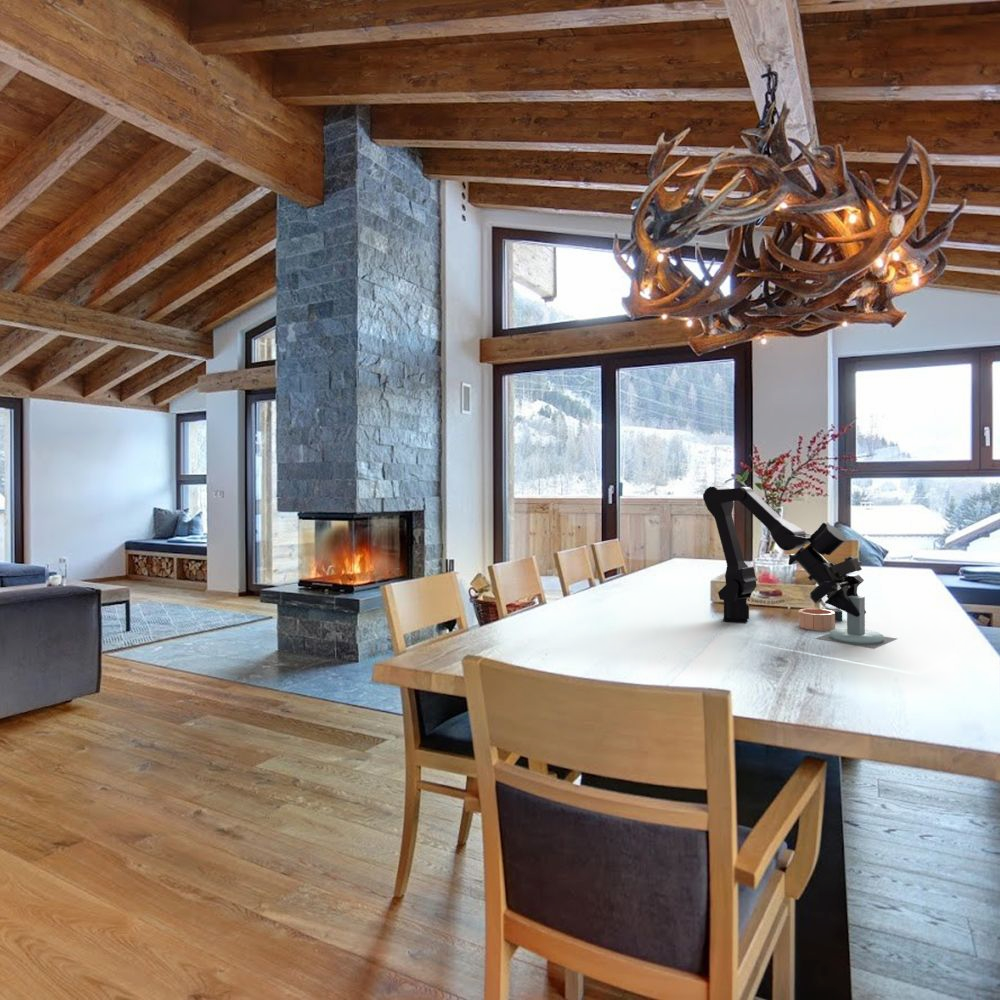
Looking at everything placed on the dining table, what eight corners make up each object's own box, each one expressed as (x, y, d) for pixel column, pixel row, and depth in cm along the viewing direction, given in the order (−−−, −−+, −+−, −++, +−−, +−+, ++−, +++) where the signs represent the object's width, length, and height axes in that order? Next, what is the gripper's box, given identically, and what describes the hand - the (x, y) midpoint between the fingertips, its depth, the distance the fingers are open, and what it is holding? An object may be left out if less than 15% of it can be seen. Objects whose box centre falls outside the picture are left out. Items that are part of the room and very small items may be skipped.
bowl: (800, 630, 181) (799, 613, 181) (798, 623, 189) (797, 607, 189) (836, 632, 178) (836, 615, 177) (832, 625, 186) (832, 609, 186)
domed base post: (820, 638, 170) (820, 597, 170) (842, 630, 178) (842, 591, 177) (871, 646, 161) (871, 603, 160) (891, 638, 168) (891, 596, 168)
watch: (850, 622, 189) (849, 583, 189) (818, 621, 191) (818, 583, 191) (845, 618, 194) (845, 580, 194) (815, 617, 197) (814, 580, 196)
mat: (814, 640, 170) (815, 638, 170) (840, 631, 179) (840, 629, 179) (874, 650, 159) (873, 648, 159) (897, 640, 168) (897, 638, 168)
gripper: (822, 549, 166) (870, 599, 157) (855, 543, 177) (901, 590, 169) (791, 578, 172) (835, 628, 164) (825, 570, 184) (868, 616, 176)
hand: (861, 614), depth 168 cm, fingers closed on domed base post, 3 cm apart
